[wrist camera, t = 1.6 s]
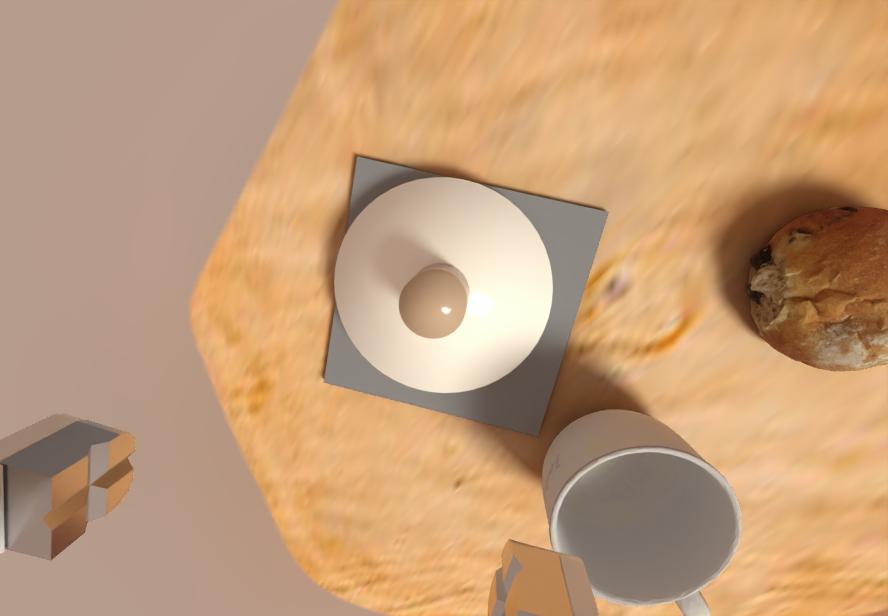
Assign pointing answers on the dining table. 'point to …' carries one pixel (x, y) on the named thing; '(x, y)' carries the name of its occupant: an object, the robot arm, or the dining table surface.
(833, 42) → the dining table surface
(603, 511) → the teacup
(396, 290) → the lid
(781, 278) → the bread roll
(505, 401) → the mat
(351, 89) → the dining table surface
